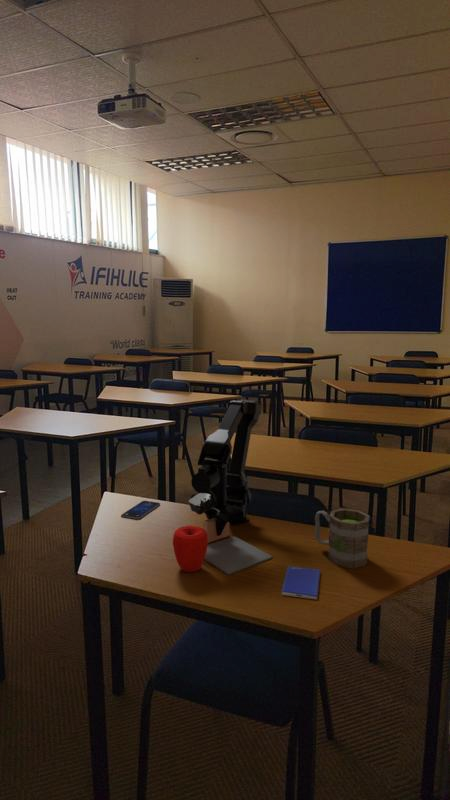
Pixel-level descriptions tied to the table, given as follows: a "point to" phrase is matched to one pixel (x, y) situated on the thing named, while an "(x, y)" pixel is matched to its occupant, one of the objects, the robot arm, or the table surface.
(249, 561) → the mat
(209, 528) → the tile
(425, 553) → the table surface
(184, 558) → the apple
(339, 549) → the mug
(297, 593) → the hard drive
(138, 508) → the smartphone
